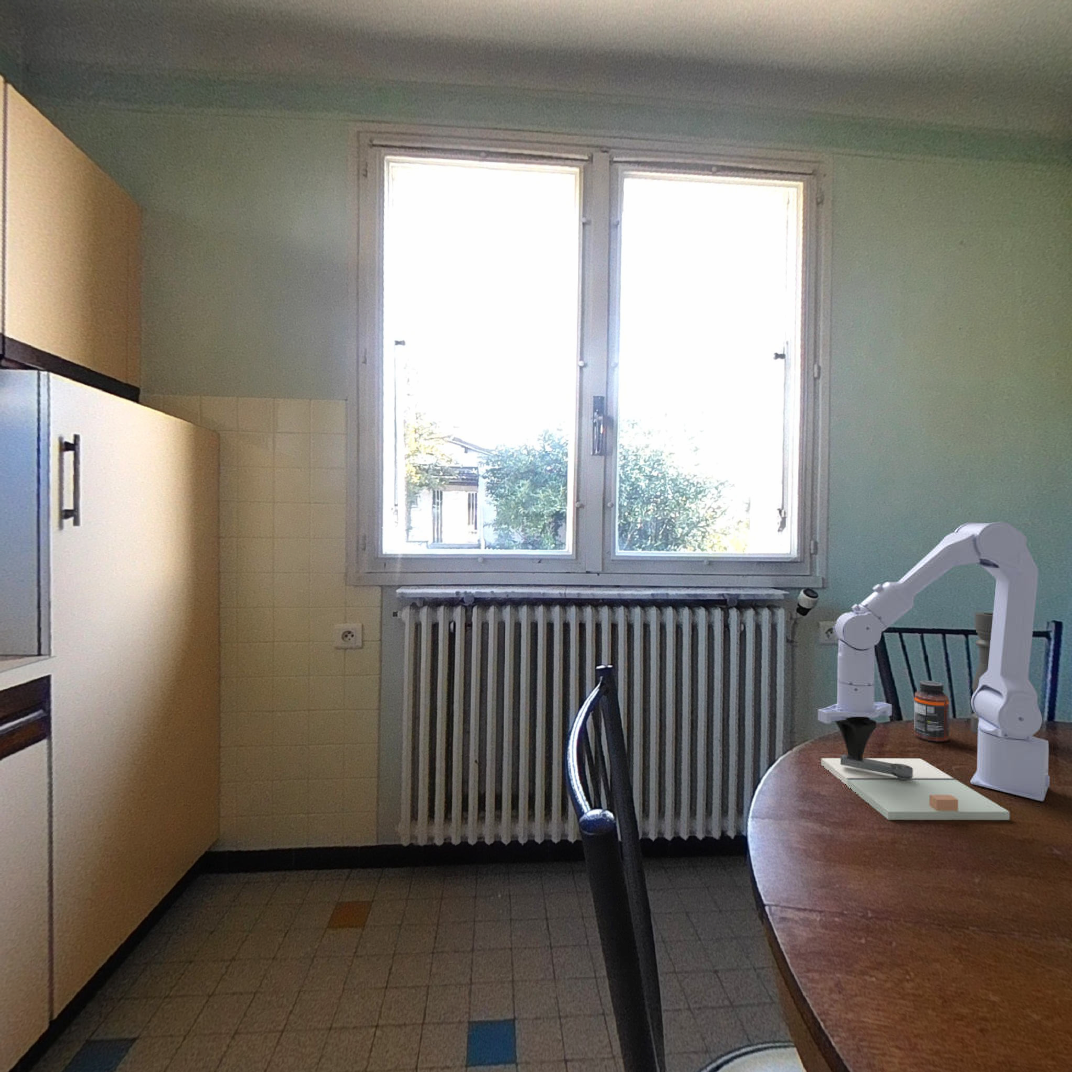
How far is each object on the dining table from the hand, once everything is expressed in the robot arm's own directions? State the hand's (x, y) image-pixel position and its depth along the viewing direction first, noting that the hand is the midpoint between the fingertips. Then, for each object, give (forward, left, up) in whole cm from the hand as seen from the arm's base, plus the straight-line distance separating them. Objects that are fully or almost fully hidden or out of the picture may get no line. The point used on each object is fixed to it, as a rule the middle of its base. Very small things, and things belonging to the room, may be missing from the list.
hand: (854, 759), depth 107 cm
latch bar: (-4, +1, 0) cm, 4 cm away
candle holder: (-13, -42, -3) cm, 45 cm away
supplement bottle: (-5, -30, -3) cm, 31 cm away
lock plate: (-8, +1, -2) cm, 9 cm away
